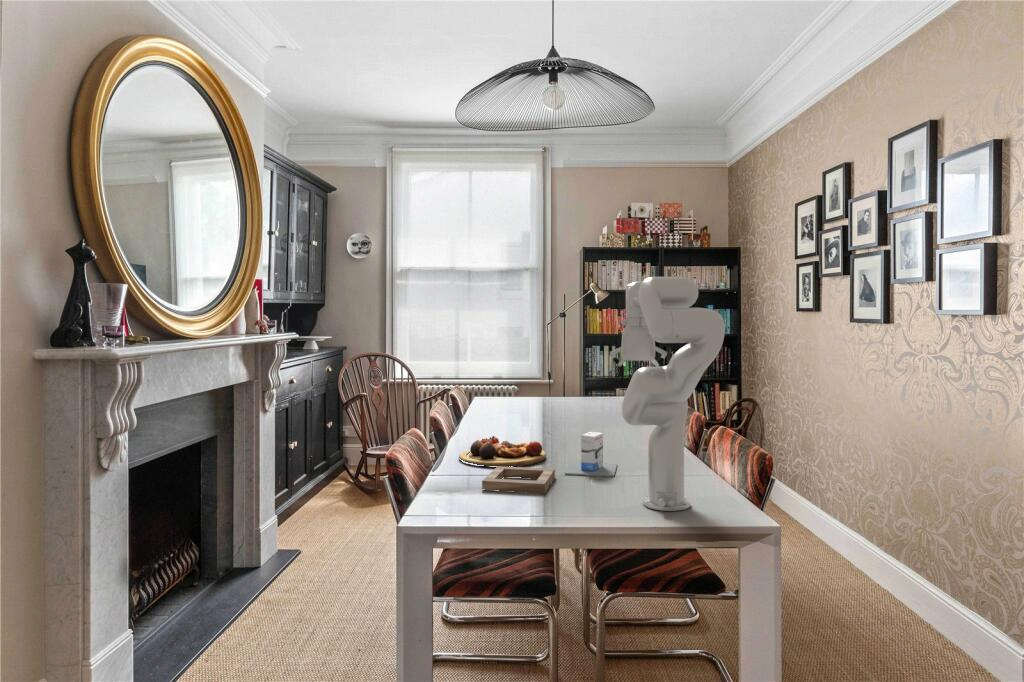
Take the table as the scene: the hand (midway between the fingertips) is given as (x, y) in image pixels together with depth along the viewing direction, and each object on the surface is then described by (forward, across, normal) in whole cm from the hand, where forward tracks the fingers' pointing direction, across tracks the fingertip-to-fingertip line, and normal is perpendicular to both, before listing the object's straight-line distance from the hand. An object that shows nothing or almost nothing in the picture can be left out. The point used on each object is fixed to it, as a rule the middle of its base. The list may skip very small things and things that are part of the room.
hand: (638, 379), depth 197 cm
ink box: (+32, -16, +14) cm, 38 cm away
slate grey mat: (+32, -16, +14) cm, 39 cm away
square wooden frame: (+32, -36, -8) cm, 49 cm away
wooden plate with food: (+33, -50, +26) cm, 65 cm away
